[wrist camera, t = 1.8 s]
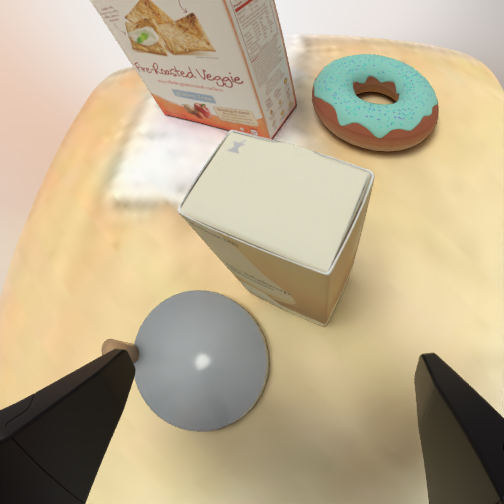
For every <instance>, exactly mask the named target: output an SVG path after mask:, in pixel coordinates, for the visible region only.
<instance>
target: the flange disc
mask: <svg viewBox="0 0 504 504" xmlns="http://www.w3.org/2000/svg"><path fill="white" fill-rule="evenodd" d="M115 348H120V349H125V350H127V351H128V353H129V355H130V357H131V359H132V361H133V363H134V366H135V369H136V373H135V376H134V377H135V381H136V384H137V387H138V389H139V391H140V394H141V396H142V397H143V399H144V400H145V402H146V404H147V405H148V406H149V407H150V408H151V410H152V411H153V412H154V413H155V414H156V415H158V416H159V417H160V418H161V419H163V420H164V421H166V422H167V423H169V424H171V425H173V426H175V427H178V428H181V429H185V430H189V431H198V432H200V431H211V430H216V429H219V428H222V427H225V426H227V425H229V424H231V423H233V422H235V421H237V420H239V419H240V418H241V417H243V416H244V415H246V414H247V413H248V412H249V411H250V410H251V409H252V408H253V406H254V405H255V404H256V403H257V401H258V400H259V398H260V396H261V394H262V393H263V390H264V388H265V385H266V382H267V377H268V371H269V354H268V348H267V344H266V341H265V337H264V335H263V333H262V331H261V329H260V327H259V326H258V324H257V322H256V321H255V320H254V319H253V317H252V316H251V315H250V314H249V313H248V312H247V311H246V310H245V309H244V308H242V307H241V306H240V305H238V304H237V303H236V302H234V301H233V300H231V299H229V298H227V297H225V296H223V295H220V294H218V293H215V292H210V291H200V290H197V291H187V292H183V293H179V294H177V295H174V296H172V297H170V298H168V299H166V300H165V301H163V302H162V303H160V304H159V305H158V306H157V307H155V308H154V309H153V310H152V311H151V313H150V314H149V315H148V316H147V318H146V319H145V320H144V322H143V324H142V325H141V327H140V329H139V332H138V334H137V337H136V340H135V344H131V343H127V342H122V341H118V340H113V339H108V340H106V341H105V342H104V343H103V346H102V355H104V354H106V353H108V352H109V351H111V350H113V349H115Z"/></svg>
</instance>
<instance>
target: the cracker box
mask: <svg viewBox="0 0 504 504" xmlns="http://www.w3.org/2000/svg"><path fill="white" fill-rule="evenodd" d="M90 1H91V2H92V4H93V6H94V7H95V8H96V10H97V12H98V13H99V14H100V16H101V17H102V19H103V21H104V22H105V24H106V25H107V27H108V28H109V30H110V31H111V33H112V34H113V36H114V37H115V39H116V41H117V42H118V44H119V45H120V47H121V48H122V50H123V51H124V53H125V54H126V56H127V58H128V59H129V61H130V62H131V64H132V65H133V67H134V68H135V70H136V71H137V73H138V74H139V76H140V77H141V79H142V81H143V82H144V84H145V85H146V87H147V88H148V90H149V91H150V93H151V94H152V96H153V98H154V99H155V101H156V102H157V104H158V105H159V107H160V108H161V110H162V111H163V113H164V114H165V115H170V116H175V117H179V118H183V119H188V120H192V121H196V122H200V123H203V124H207V125H211V126H215V127H218V128H222V129H226V130H229V131H230V130H236V131H240V132H244V133H248V134H252V135H256V136H260V137H264V138H268V139H272V138H273V137H274V135H275V134H276V132H277V131H278V130H279V128H280V127H281V126H282V124H283V123H284V121H285V120H286V119H287V117H288V116H289V114H290V113H291V112H292V110H293V109H294V107H295V106H296V105H297V104H296V98H295V92H294V87H293V82H292V77H291V72H290V67H289V62H288V57H287V52H286V48H285V43H284V39H283V34H282V30H281V26H280V22H279V18H278V14H277V10H276V5H275V1H274V0H90Z"/></svg>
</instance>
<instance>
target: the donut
mask: <svg viewBox="0 0 504 504" xmlns="http://www.w3.org/2000/svg"><path fill="white" fill-rule="evenodd" d="M363 92H378V93H382V94H385V95H387V96H389V97H391V98H393V99H394V100H395V101H396V103H393V104H387V105H382V104H374V103H370V102H366V101H364V100H362V99H360V98H358V97H357V96H356V95H357V94H360V93H363ZM312 102H313V105H314V108H315V111H316V113H317V114H318V116H319V118H320V119H321V121H322V122H323V124H324V125H325V126H326V127H327V128H328V129H329V130H330V131H331V132H332V133H334V134H335V135H336V136H338V137H339V138H341V139H343V140H345V141H347V142H348V143H350V144H353V145H356V146H359V147H362V148H366V149H371V150H376V151H397V150H403V149H407V148H410V147H413V146H415V145H417V144H419V143H420V142H422V141H423V140H424V139H425V138H426V137H427V136H428V135H429V134H430V133H431V132H432V130H433V129H434V127H435V125H436V124H437V120H438V100H437V98H436V95H435V92H434V90H433V88H432V87H431V85H430V84H429V82H428V81H427V80H426V78H424V77H423V76H422V75H421V74H420V73H419V72H418V71H417V70H415V69H414V68H412V67H411V66H409V65H407V64H405V63H403V62H400V61H398V60H395V59H392V58H388V57H384V56H379V55H369V54H361V55H353V56H347V57H343V58H340V59H338V60H335V61H333V62H331V63H330V64H329V65H327V66H326V67H324V68H323V70H322V71H321V73H320V74H319V75H318V77H317V78H316V79H315V82H314V84H313V91H312Z"/></svg>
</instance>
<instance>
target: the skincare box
mask: <svg viewBox="0 0 504 504" xmlns="http://www.w3.org/2000/svg"><path fill="white" fill-rule="evenodd" d="M374 177H375V176H374V174H373V173H372V172H371V171H370V170H368V169H365V168H362V167H359V166H356V165H353V164H351V163H348V162H345V161H342V160H339V159H336V158H333V157H330V156H327V155H323V154H320V153H318V152H315V151H312V150H309V149H306V148H304V147H301V146H297V145H293V144H289V143H284V142H279V141H275V140H272V139H268V138H264V137H260V136H256V135H252V134H248V133H244V132H240V131H236V130H230V131H229V132H228V133H227V134H226V136H225V137H224V139H223V140H222V142H221V143H220V144H219V146H218V147H217V149H216V150H215V151H214V153H213V154H212V156H211V157H210V158H209V160H208V161H207V163H206V164H205V166H204V167H203V169H202V170H201V171H200V173H199V175H198V176H197V178H196V179H195V181H194V182H193V184H192V185H191V187H190V189H189V190H188V192H187V194H186V196H185V197H184V199H183V201H182V202H181V204H180V205H179V207H178V213H179V214H180V215H181V216H182V217H183V218H184V219H185V220H186V221H187V222H188V223H189V225H190V226H191V227H192V228H193V229H194V230H195V231H196V233H197V234H198V235H199V236H200V237H201V238H202V239H203V240H204V242H205V243H206V244H207V245H208V246H209V247H210V249H211V250H212V251H213V252H214V253H215V254H216V255H217V256H218V257H219V259H220V260H221V261H222V262H223V263H224V264H225V265H226V267H227V268H228V269H229V270H230V271H231V272H232V273H233V274H234V275H235V276H236V278H237V279H238V280H239V281H240V282H241V283H242V284H243V286H244V287H245V288H246V289H247V290H248V291H249V292H250V293H252V294H254V295H256V296H258V297H259V298H261V299H263V300H265V301H267V302H269V303H271V304H273V305H275V306H277V307H279V308H281V309H283V310H285V311H287V312H290V313H292V314H294V315H297V316H299V317H301V318H303V319H306V320H308V321H311V322H313V323H315V324H318V325H320V326H323V327H325V326H326V325H327V323H328V321H329V319H330V317H331V315H332V313H333V311H334V309H335V307H336V305H337V303H338V301H339V299H340V297H341V295H342V293H343V290H344V288H345V286H346V283H347V281H348V279H349V276H350V273H351V269H352V266H353V263H354V258H355V255H356V251H357V248H358V244H359V240H360V236H361V232H362V228H363V224H364V220H365V216H366V212H367V208H368V203H369V199H370V195H371V191H372V186H373V182H374Z"/></svg>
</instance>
